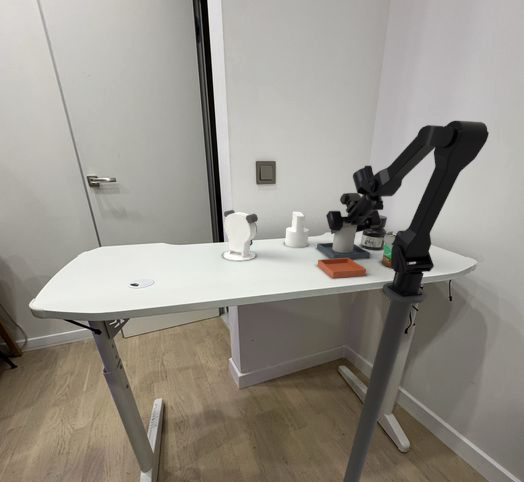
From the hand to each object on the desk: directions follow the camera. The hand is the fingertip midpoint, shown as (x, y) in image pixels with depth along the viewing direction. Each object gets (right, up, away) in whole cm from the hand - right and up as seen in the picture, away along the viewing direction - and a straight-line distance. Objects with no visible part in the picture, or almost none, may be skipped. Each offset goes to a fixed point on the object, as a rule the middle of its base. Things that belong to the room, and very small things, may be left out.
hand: (342, 232), depth 107 cm
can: (0, -7, +2) cm, 7 cm away
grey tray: (0, -7, +2) cm, 8 cm away
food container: (+14, -13, -8) cm, 21 cm away
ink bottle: (+14, -4, +10) cm, 18 cm away
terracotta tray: (-5, -15, -13) cm, 21 cm away
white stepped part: (-16, -2, +11) cm, 20 cm away
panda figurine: (-38, -9, -3) cm, 39 cm away
